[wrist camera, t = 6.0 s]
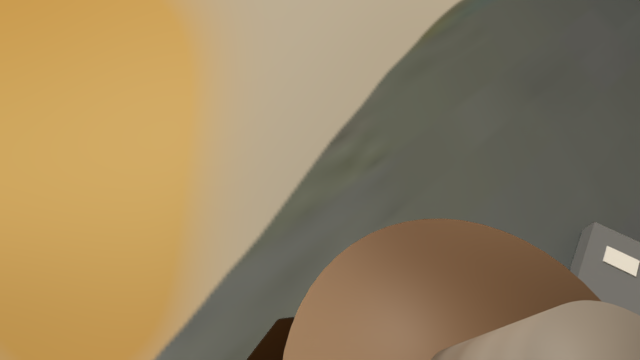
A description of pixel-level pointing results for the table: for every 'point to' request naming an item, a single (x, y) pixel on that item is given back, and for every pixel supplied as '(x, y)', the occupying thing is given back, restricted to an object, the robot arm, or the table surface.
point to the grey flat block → (609, 266)
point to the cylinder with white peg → (455, 302)
